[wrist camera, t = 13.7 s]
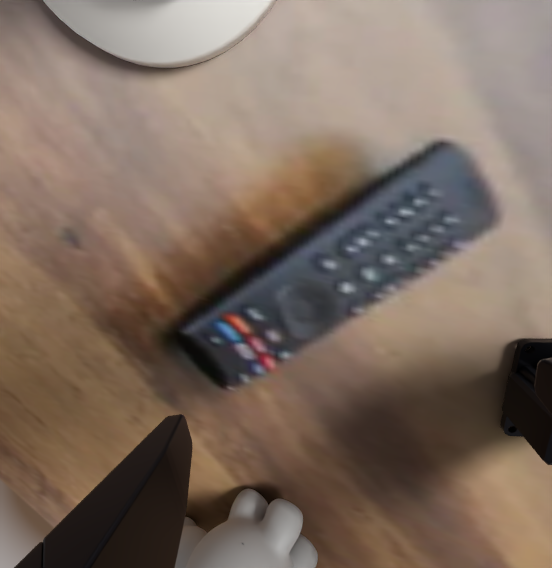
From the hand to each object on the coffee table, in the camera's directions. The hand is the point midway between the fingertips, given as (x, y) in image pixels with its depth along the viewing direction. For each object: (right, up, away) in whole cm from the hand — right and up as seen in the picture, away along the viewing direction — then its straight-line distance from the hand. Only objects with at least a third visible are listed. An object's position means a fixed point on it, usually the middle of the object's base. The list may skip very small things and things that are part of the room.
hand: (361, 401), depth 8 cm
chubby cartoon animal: (-6, -15, +18) cm, 24 cm away
